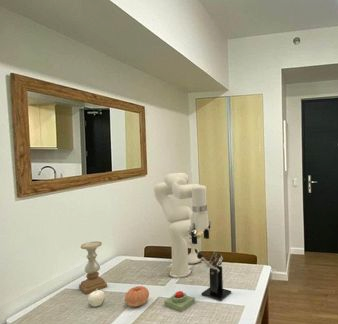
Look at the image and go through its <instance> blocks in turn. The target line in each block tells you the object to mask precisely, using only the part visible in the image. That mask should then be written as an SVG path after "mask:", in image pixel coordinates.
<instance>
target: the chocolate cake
mask: <svg viewBox="0 0 338 324" xmlns="http://www.w3.org/2000/svg"><path fill="white" fill-rule="evenodd" d="M223 259H224V258H223V255H222V254H220V253H217V252H216V250H214V251H213V253H212V254H211V257H210V259H209V261H208V262H209V263H210V264H211V265H212V266H213V267H214V266H215V265H217V266H219V265H222V264H221V263H222V262H223Z"/></svg>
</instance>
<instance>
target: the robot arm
mask: <svg viewBox="0 0 338 324" xmlns="http://www.w3.org/2000/svg"><path fill="white" fill-rule="evenodd" d="M189 181H190V179H189V176H188V174H187V173H185V172H170V173H168V174H166V175H165V177H164V182H159V183H157V184H155V185H154V188H153V193H154V197H155V199H156V201H157V202H158V204H159V205H160V207H161V209H162V211H163V213H164V216H165V217H166V220H167V222H168V223H170V225H169V226H168V227H169V230H168V231H169V236H170V242H171V243H170V244H171V245H170V247H171V263H170V264H169V265H168V269H170V271H169V276H170V277H171V278H174V279H175V278H176V279H180V278H185V277H188V276H190V275H191V274H192V269H191V268H189V263H188V255H189V248H188V247H189V244H188V242H187V240H186V239H185V238H186V237H191V238H192V239H191V240H192V244H195V245H197V244H198V238H197V236H196V235H197V233H198V232H199V231H202V230H203V239H206V240H209V239H210V229H211V225H212V221H211V220H209V213H208V203H207V200H208V199H207V187H206V185H204V184H203V185H202V184H199V183H189ZM172 195H173V196H174V197H175V198H177V199H179V200H187V199H191V204H192V205H191V207H192V209H191V207H189V206H188V205H179V206H178V205H177V204H176V201H175V200H174V199H173V198H172V197H170V196H172Z"/></svg>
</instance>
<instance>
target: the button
mask: <svg viewBox="0 0 338 324" xmlns="http://www.w3.org/2000/svg"><path fill="white" fill-rule="evenodd" d="M183 293H184V291H182V290H179V291H175V293H174V294H175V295H176V298H182V297H183Z"/></svg>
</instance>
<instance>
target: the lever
mask: <svg viewBox="0 0 338 324" xmlns="http://www.w3.org/2000/svg"><path fill="white" fill-rule="evenodd" d="M197 258H198V259H201V261H202V262H204V263H205V264H206V265H207V267H209V269H210V268H213V269H217V270H218V273H219V271H220V270H219V269H218V268H217V267H215V268H214V266H212V265H211V264H210V263H209V261H208V260H207V259H206V258H205V257H204V254H203V253H202V252H198V253H197Z"/></svg>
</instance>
